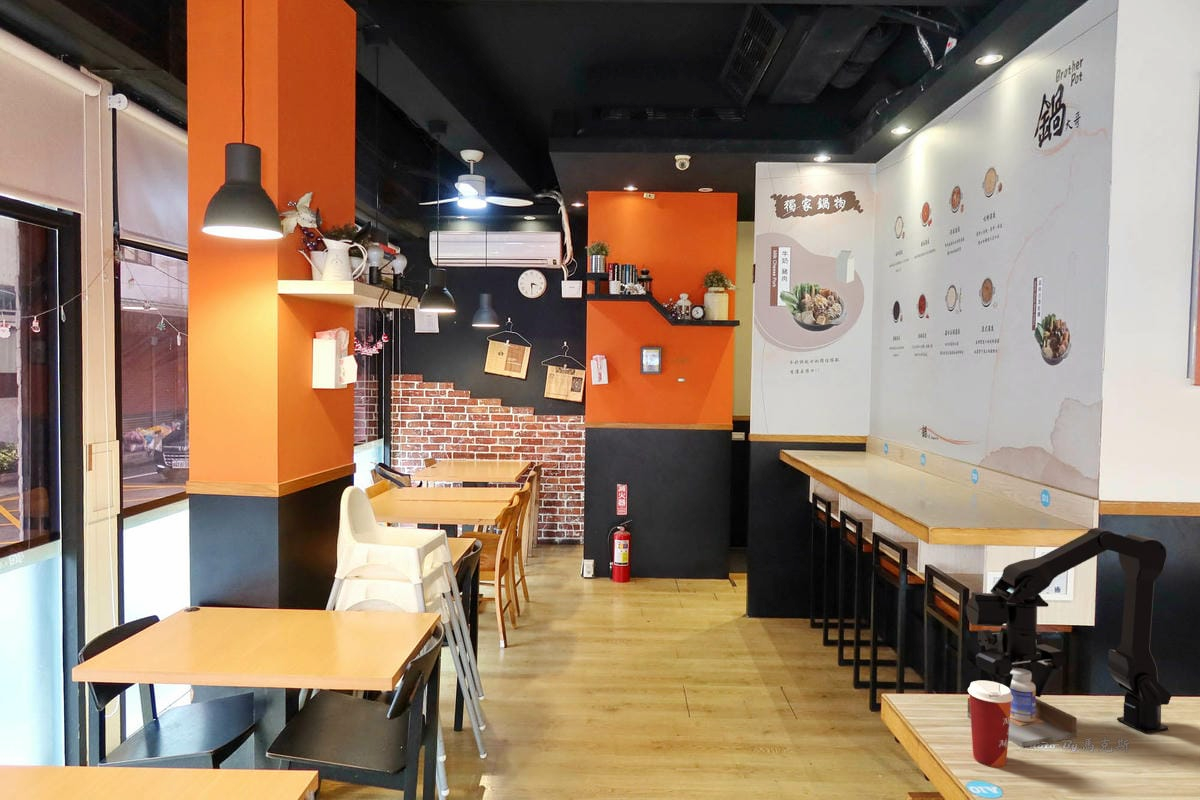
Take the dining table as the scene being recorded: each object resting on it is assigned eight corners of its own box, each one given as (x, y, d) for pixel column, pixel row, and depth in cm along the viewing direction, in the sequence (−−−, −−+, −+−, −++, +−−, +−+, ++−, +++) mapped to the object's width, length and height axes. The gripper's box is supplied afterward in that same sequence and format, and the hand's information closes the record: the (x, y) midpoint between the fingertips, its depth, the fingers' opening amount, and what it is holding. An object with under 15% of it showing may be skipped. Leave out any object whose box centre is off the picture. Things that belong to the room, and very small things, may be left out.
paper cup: (1018, 772, 137) (1019, 697, 137) (973, 768, 138) (974, 693, 138) (1004, 751, 145) (1005, 680, 144) (961, 747, 146) (962, 677, 146)
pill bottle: (1038, 724, 154) (1039, 677, 153) (1009, 720, 155) (1010, 674, 155) (1031, 713, 159) (1032, 667, 159) (1003, 709, 160) (1003, 665, 160)
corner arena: (1019, 708, 164) (1019, 690, 164) (1076, 737, 150) (1076, 717, 150) (967, 716, 160) (967, 698, 160) (1021, 747, 146) (1022, 727, 146)
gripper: (1024, 610, 167) (1023, 679, 167) (956, 618, 161) (955, 689, 162) (1068, 626, 156) (1067, 699, 157) (997, 635, 151) (996, 711, 151)
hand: (1020, 699), depth 157 cm, fingers open, 9 cm apart
